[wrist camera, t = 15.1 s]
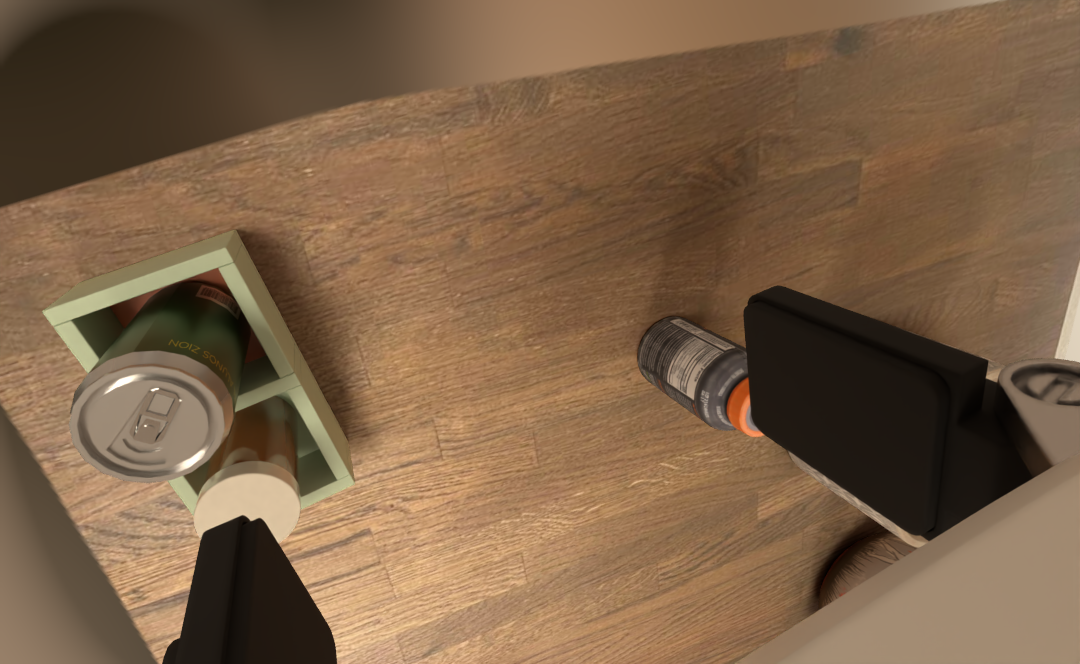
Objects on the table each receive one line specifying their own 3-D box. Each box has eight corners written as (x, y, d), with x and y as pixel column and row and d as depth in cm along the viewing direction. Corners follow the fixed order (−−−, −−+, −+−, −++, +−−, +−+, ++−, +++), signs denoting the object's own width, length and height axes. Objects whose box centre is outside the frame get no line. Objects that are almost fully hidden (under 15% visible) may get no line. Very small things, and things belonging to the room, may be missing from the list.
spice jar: (201, 411, 33) (172, 502, 26) (279, 379, 35) (274, 457, 27) (240, 469, 36) (224, 571, 28) (312, 437, 37) (316, 526, 29)
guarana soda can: (164, 262, 30) (95, 338, 20) (267, 303, 33) (254, 389, 22) (123, 349, 31) (36, 467, 20) (228, 382, 33) (198, 502, 23)
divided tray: (78, 282, 30) (40, 311, 25) (235, 228, 32) (226, 247, 27) (226, 496, 36) (217, 549, 32) (348, 442, 38) (355, 484, 34)
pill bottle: (702, 362, 48) (807, 424, 38) (644, 395, 47) (737, 468, 37) (688, 302, 45) (797, 353, 36) (626, 335, 44) (721, 397, 34)
